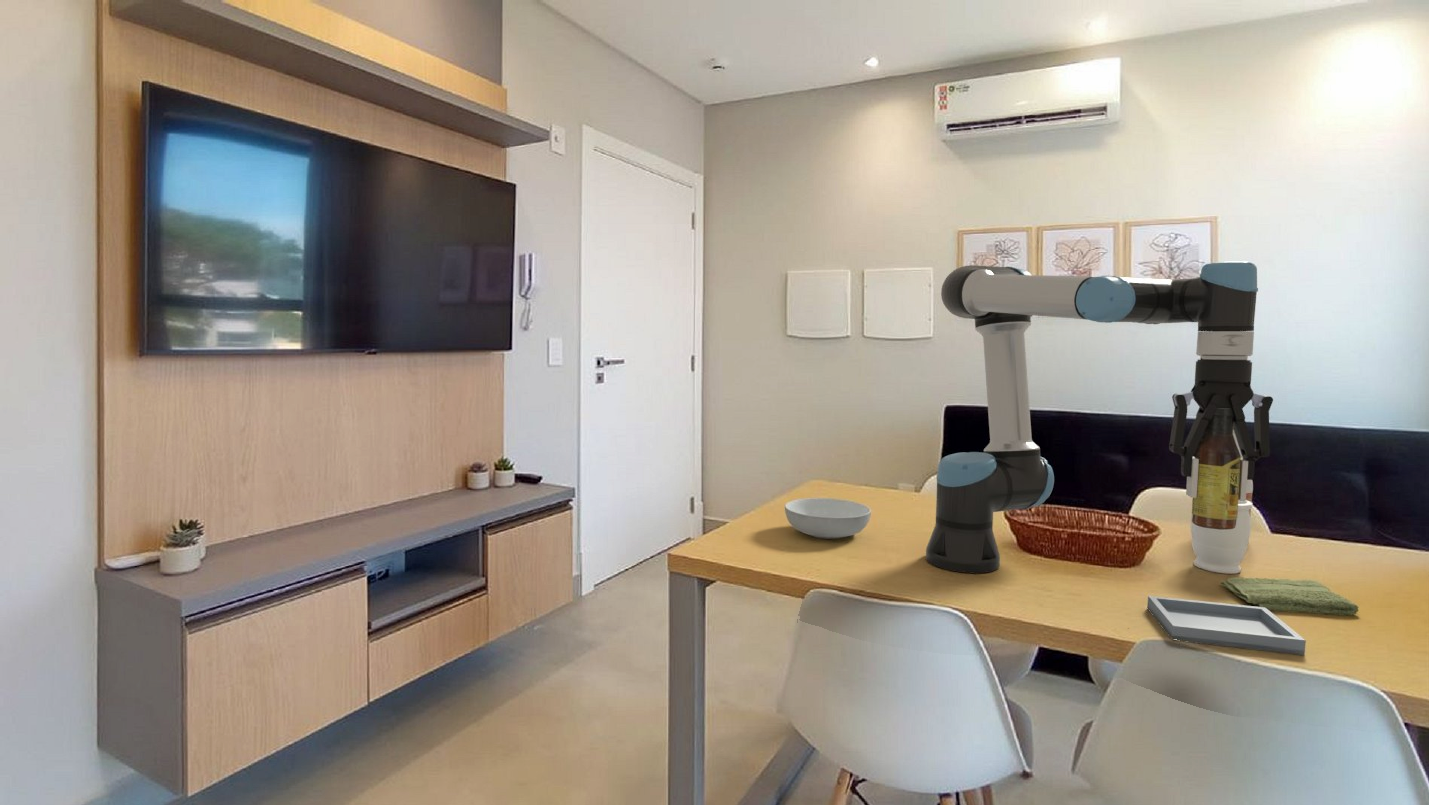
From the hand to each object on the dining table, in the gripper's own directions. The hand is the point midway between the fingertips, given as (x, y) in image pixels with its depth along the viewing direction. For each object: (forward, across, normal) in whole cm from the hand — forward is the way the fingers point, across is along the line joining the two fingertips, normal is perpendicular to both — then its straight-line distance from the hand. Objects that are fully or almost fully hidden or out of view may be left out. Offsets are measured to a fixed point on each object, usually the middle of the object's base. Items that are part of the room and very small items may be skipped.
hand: (1215, 497), depth 119 cm
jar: (+23, +13, +38) cm, 46 cm away
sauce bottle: (+5, 0, 0) cm, 5 cm away
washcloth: (+23, +19, +20) cm, 36 cm away
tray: (+23, +2, 0) cm, 23 cm away
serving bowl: (+22, -70, +36) cm, 82 cm away
